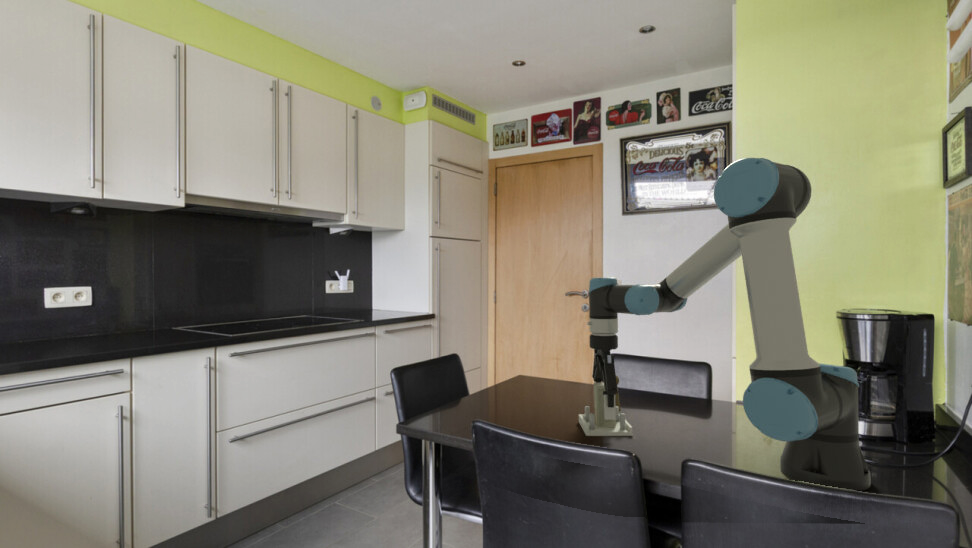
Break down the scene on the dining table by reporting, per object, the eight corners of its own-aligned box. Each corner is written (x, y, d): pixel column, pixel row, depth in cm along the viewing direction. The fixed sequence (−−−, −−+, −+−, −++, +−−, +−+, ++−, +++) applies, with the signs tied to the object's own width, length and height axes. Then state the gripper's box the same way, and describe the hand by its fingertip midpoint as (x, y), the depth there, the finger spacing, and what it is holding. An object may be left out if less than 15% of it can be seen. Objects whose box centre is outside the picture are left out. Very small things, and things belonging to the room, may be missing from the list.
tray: (632, 435, 124) (632, 416, 124) (586, 435, 125) (586, 416, 125) (621, 422, 136) (620, 404, 136) (578, 422, 137) (578, 404, 137)
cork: (600, 411, 147) (599, 375, 147) (601, 406, 153) (601, 372, 153) (620, 413, 145) (620, 376, 146) (621, 408, 151) (620, 373, 151)
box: (612, 422, 132) (612, 382, 132) (616, 427, 128) (615, 386, 128) (593, 422, 133) (593, 382, 133) (596, 427, 128) (595, 386, 128)
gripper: (582, 329, 143) (582, 400, 143) (599, 339, 118) (599, 425, 118) (607, 329, 143) (608, 400, 143) (629, 339, 118) (630, 425, 118)
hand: (604, 412), depth 130 cm, fingers open, 13 cm apart
